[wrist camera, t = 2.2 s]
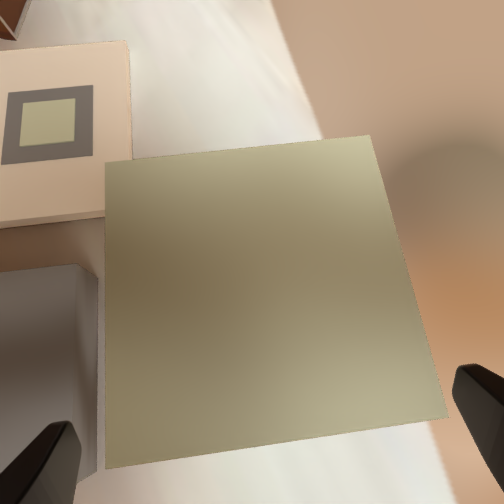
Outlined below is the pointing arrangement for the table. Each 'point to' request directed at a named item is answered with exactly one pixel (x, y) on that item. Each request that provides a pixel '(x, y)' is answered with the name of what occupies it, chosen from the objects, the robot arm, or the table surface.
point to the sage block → (256, 302)
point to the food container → (12, 17)
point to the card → (61, 130)
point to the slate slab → (48, 358)
